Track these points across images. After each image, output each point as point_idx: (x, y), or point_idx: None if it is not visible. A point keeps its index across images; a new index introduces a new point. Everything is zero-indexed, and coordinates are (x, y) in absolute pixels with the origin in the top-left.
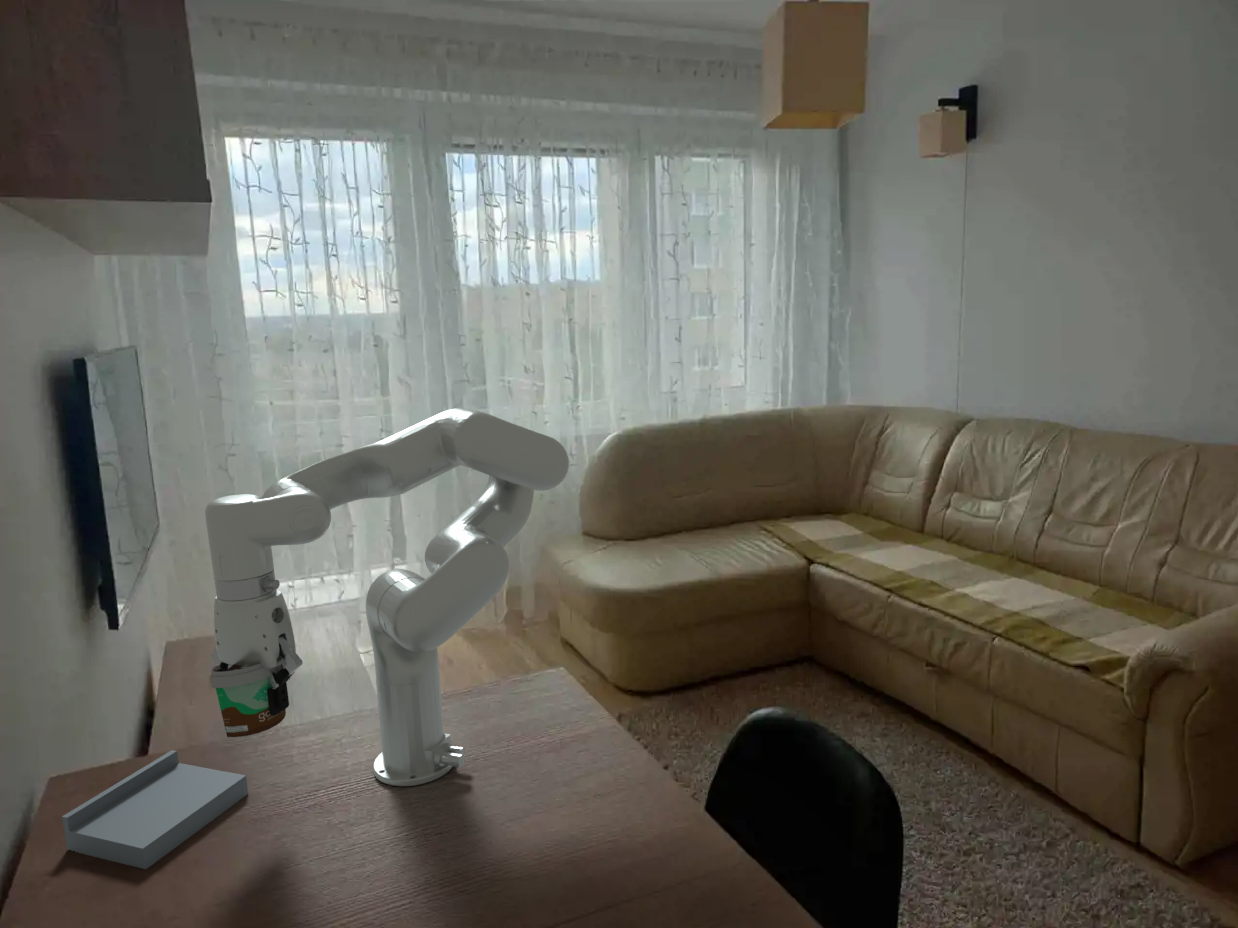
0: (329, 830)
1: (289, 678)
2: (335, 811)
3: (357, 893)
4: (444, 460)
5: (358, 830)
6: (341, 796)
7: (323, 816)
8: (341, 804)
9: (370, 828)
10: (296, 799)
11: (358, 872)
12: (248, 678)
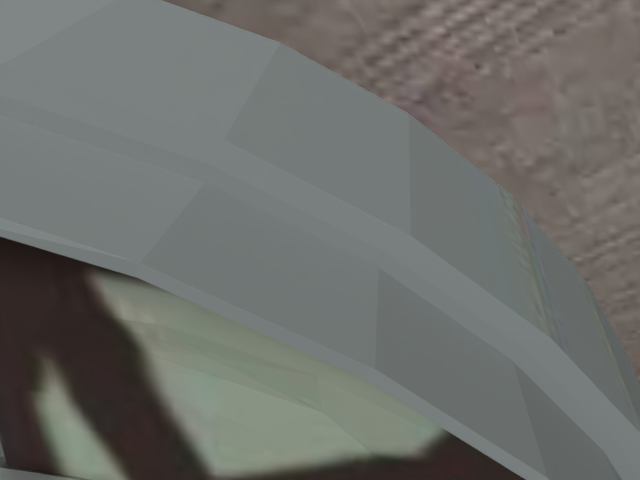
0: (520, 197)
1: None
2: (510, 117)
3: (635, 371)
4: None
5: (597, 192)
6: (505, 38)
7: (484, 141)
8: (518, 81)
9: (628, 183)
10: (370, 66)
11: (626, 323)
12: None
